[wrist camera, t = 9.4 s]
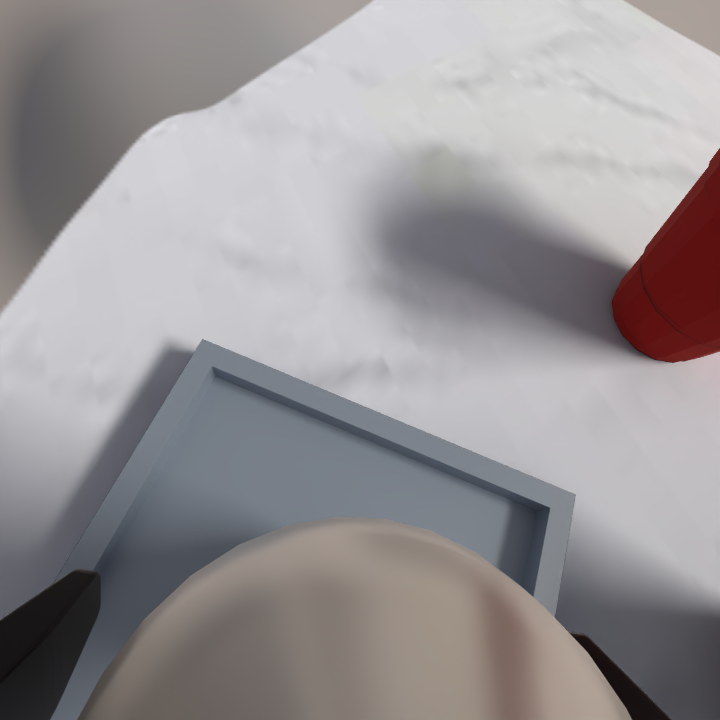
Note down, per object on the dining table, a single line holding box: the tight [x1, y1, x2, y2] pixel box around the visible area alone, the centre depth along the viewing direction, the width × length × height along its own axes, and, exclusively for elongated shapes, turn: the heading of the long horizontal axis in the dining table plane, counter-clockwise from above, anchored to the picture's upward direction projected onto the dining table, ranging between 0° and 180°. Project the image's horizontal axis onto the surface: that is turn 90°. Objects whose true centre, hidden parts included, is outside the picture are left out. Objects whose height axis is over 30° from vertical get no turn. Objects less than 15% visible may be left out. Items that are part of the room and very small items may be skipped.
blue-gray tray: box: [50, 339, 576, 720], centre depth 18 cm, size 18×18×2 cm
